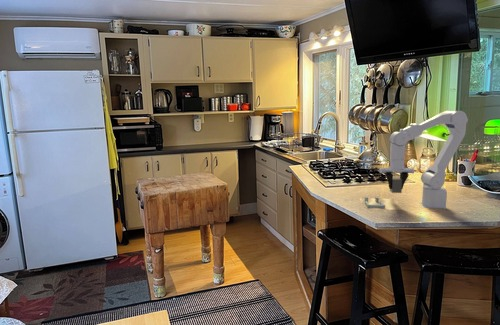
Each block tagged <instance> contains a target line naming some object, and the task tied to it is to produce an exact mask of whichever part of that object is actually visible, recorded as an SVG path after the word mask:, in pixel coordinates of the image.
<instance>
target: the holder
mask: <svg viewBox="0 0 500 325" xmlns="http://www.w3.org/2000/svg"><path fill="white" fill-rule="evenodd" d="M365 205H366V206H367V208H385V205H384V203H383V202H382V201H380V205H369V203H368V202H367V201H365Z"/></svg>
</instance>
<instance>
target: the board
mask: <svg viewBox="0 0 500 325" xmlns="http://www.w3.org/2000/svg"><path fill="white" fill-rule="evenodd" d="M358 199H359V201H360V203H361V204H362V206H363V208H364V209H365V210H384V211H385V210H388V211H389V210H392V211H394V210H395V211H405V208H403V206H401V204H399V202H398V201H397V200H396V199H395V198H379V202H376V201H375V198H373V197H372V198H369V197H368V203H369V205H380V201H382V202H383V203H384V205H385V208H367V206H366V205H365V197H362V198H361V197H360V198H358Z"/></svg>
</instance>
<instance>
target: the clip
mask: <svg viewBox="0 0 500 325" xmlns="http://www.w3.org/2000/svg"><path fill="white" fill-rule="evenodd" d="M364 198H365V201H367V202H368V198H369V196H367V195H366V196H364ZM374 199H375V201H376V202H379V199H380V198H379V197H378V196H374Z"/></svg>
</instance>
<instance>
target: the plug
mask: <svg viewBox="0 0 500 325" xmlns="http://www.w3.org/2000/svg"><path fill="white" fill-rule="evenodd" d="M402 190H403V189H402V179H400V177H393V178H392V189H389V192H391V193H392V194H394V193H395V194H402V193H403V192H402Z"/></svg>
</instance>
